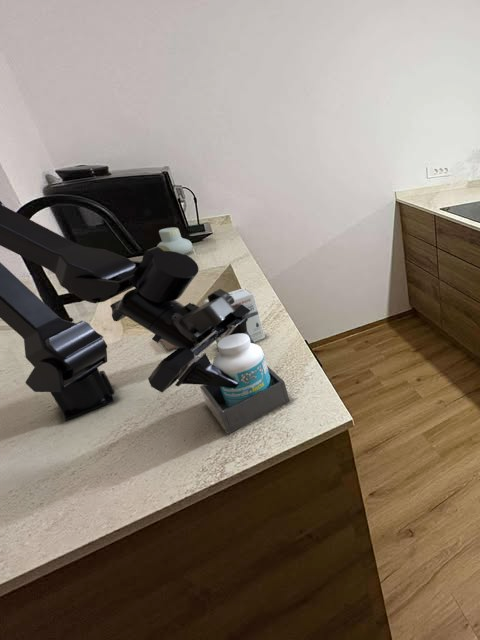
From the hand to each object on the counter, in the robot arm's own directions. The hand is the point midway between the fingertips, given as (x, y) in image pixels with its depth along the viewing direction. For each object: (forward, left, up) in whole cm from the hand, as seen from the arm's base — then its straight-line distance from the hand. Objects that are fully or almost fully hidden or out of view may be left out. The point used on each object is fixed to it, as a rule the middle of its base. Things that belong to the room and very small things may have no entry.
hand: (250, 371), depth 65 cm
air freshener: (+13, +111, -7) cm, 112 cm away
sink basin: (-1, +2, -7) cm, 7 cm away
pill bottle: (-1, +1, -7) cm, 7 cm away
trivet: (-2, +38, -7) cm, 38 cm away
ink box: (+6, +25, -7) cm, 26 cm away
